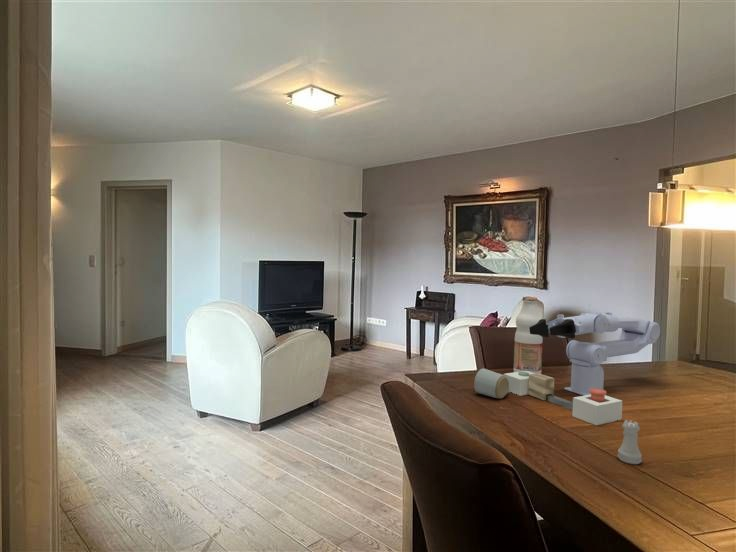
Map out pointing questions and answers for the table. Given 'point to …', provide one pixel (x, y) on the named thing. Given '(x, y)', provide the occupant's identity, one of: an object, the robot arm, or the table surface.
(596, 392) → the knob
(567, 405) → the rail
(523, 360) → the fruit juice
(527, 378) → the white button box
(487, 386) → the ceramic mug
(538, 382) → the block
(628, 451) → the rook chess piece
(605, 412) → the white button housing
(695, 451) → the table surface
